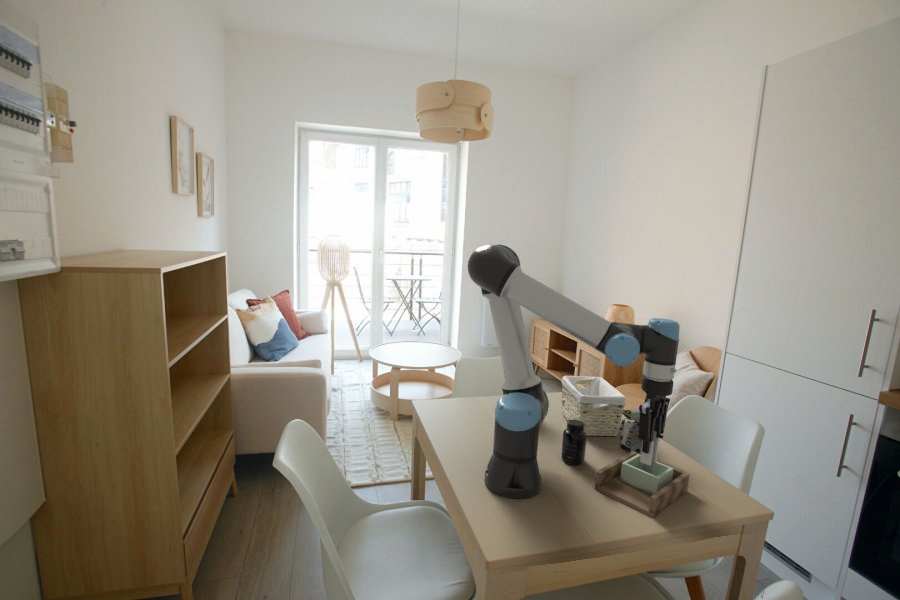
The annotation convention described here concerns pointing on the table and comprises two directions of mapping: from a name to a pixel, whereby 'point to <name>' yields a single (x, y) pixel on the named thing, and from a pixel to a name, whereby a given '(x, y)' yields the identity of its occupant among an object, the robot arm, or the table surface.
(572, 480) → the table surface
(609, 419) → the storage basket
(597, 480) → the bay
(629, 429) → the figurine
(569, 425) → the supplement bottle
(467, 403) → the table surface
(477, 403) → the table surface
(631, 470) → the green box with handle
